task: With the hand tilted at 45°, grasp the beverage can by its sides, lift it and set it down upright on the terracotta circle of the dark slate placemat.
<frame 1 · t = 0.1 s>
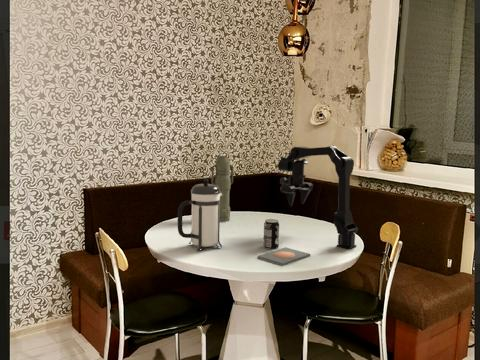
hand: (296, 204, 222), 15 cm above the table, tool pointing down, fingers open, 9 cm apart
coffee press: (202, 247, 200), on the table
beverage can: (270, 247, 202), on the table
thermos: (222, 220, 252), on the table
placemat: (284, 257, 188), on the table
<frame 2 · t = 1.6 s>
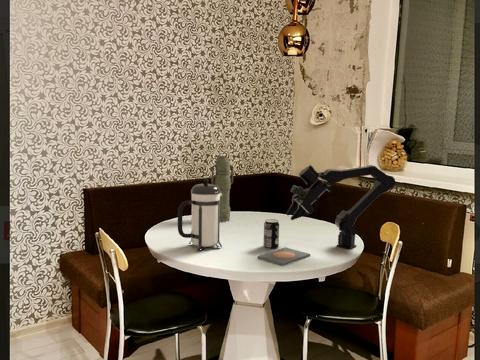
hand: (288, 217, 201), 13 cm above the table, tool tilted 45°, fingers open, 9 cm apart
nothing on the table moved.
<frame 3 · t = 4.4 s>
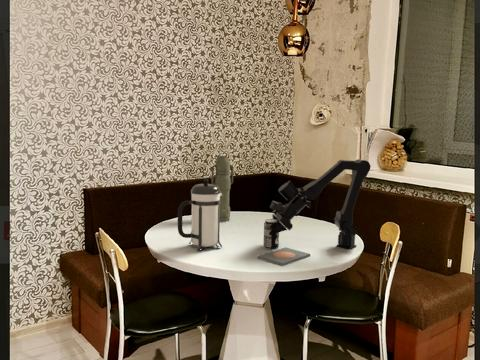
hand: (268, 232, 200), 7 cm above the table, tool tilted 45°, fingers closed on beverage can, 7 cm apart
beverage can: (270, 247, 202), on the table, touching gripper
everything else where it was.
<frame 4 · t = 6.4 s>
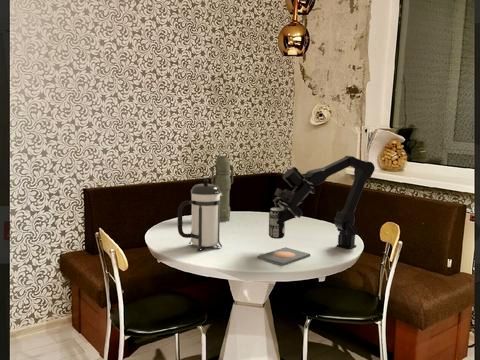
hand: (273, 221, 192), 13 cm above the table, tool tilted 45°, fingers closed on beverage can, 7 cm apart
beverage can: (276, 237, 193), point 6 cm above the table, touching gripper
everything else where it was.
when the fingers open (9 cm above the table, at t = 8.5 s): beverage can stays where it is, resting on placemat.
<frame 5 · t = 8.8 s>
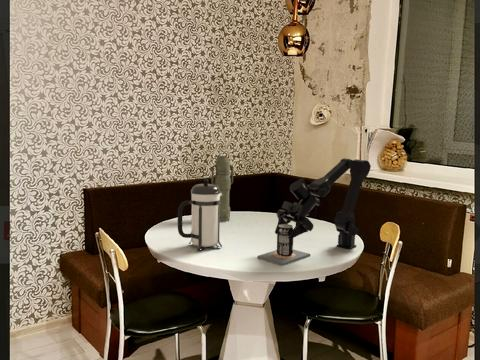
hand: (282, 235, 186), 9 cm above the table, tool tilted 45°, fingers open, 9 cm apart
beverage can: (284, 254, 188), point 1 cm above the table, touching placemat
everything else where it was.
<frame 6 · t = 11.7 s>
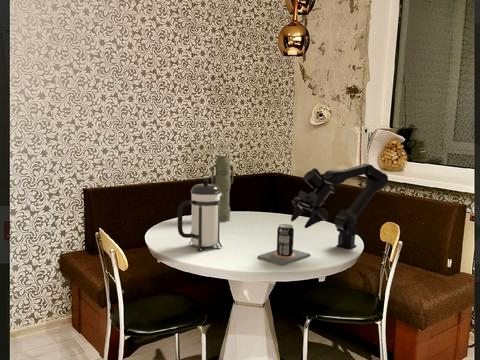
hand: (298, 224, 192), 12 cm above the table, tool tilted 40°, fingers open, 9 cm apart
nothing on the table moved.
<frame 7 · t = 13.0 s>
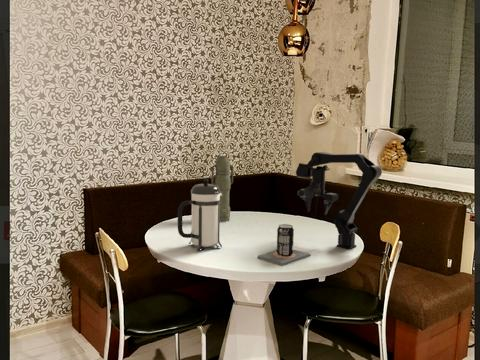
hand: (316, 213, 212), 13 cm above the table, tool pointing down, fingers open, 9 cm apart
nothing on the table moved.
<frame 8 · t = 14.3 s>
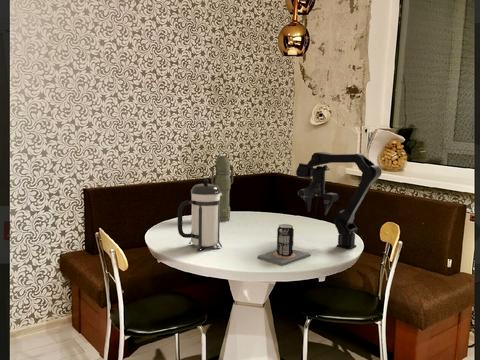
hand: (317, 213, 212), 13 cm above the table, tool pointing down, fingers open, 9 cm apart
nothing on the table moved.
at the end: beverage can inside the target area on the placemat (0.2 cm from its centre), point 0.9 cm above the placemat's base; beverage can tilted 0°; the gripper is holding nothing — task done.
